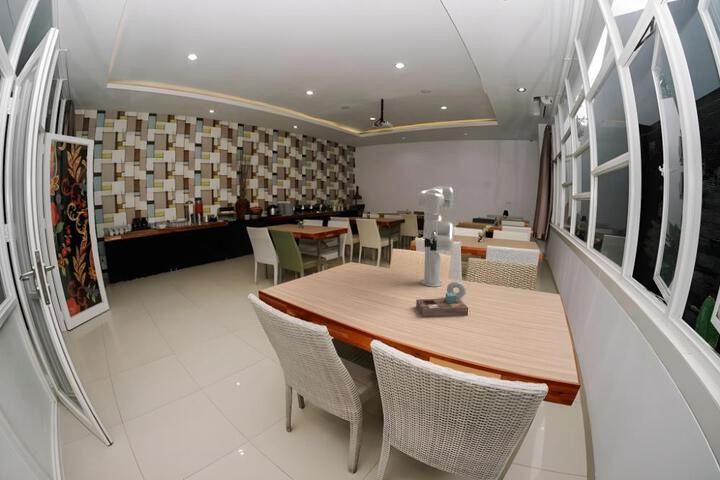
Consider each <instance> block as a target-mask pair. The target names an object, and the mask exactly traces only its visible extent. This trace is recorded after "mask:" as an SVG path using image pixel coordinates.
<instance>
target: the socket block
mask: <svg viewBox="0 0 720 480" xmlns="http://www.w3.org/2000/svg"><path fill="white" fill-rule="evenodd" d="M445 299H446V298H424V299H416V300H415V301H416V302H415V304H416V305H415V307H416V309H417V310H418V312H419V314H420V315H421V316H422V318H433V317H434V318H436V317H437V318H438V317H458V316H459V317H461V316H468V315H469V307H468V305H466V304H465V303H464V302H463V301H461V299H458V298H457V299H456V304H447V303H446V302H445Z"/></svg>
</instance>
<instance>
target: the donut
mask: <svg viewBox="0 0 720 480" xmlns="http://www.w3.org/2000/svg"><path fill="white" fill-rule="evenodd" d="M455 288H457V289H458V290H459V291H458V292H455V291H454V289H455ZM446 293H454V294H455V295H456V296H457V298H458V299H459V300H461V299H462V298H464V297H465V295H466V293H467V289H466V286H465V285H464V283H462V282H461V281H458V280H457V281H456V280H455V281H454V280H453V281H452V282H449V284H448V285H447V286H446Z"/></svg>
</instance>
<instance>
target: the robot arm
mask: <svg viewBox="0 0 720 480" xmlns="http://www.w3.org/2000/svg"><path fill="white" fill-rule="evenodd" d="M416 198H417V200H416V202H417V205H418V206H420V207H424V212H423V213H424V214H423V215H424V217H423V220H424V222H423V235H422V236H423V237H424V240H423V245H424V246H423V247H424V268H423V269H424V271H423V272H424V274H423V279H422V280H421V285H423V286H427V287H433V288H434V287H440V286H441V285H442V284H443V283H442V281H440V276H441V275H440V271H441V256H440V255H441V254H440V253H438V251H443V252H444V251H445V252H449V251H452V249H453V248H454V233H455V232H454V231H455V230H454V224H453V223H452V222H451V221H443V217H442V215H441V213H440V211H441V210H442V211H445V210H446V211H447V210H448V211H449V210H452V209H453V207H454V190H453V188H452V186H448V185H445V186H444V185H443V186H442V185H441V186H439V185H437V186H433V187H432V188H430V189H425V190H422V191H419V193H418V195H417V197H416Z"/></svg>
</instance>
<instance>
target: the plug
mask: <svg viewBox="0 0 720 480" xmlns="http://www.w3.org/2000/svg"><path fill="white" fill-rule="evenodd" d="M444 299H445V302H446V303H447V304H456V299H457V296H456V295H455V294H454V293H447V292H446V293H445V298H444Z"/></svg>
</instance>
